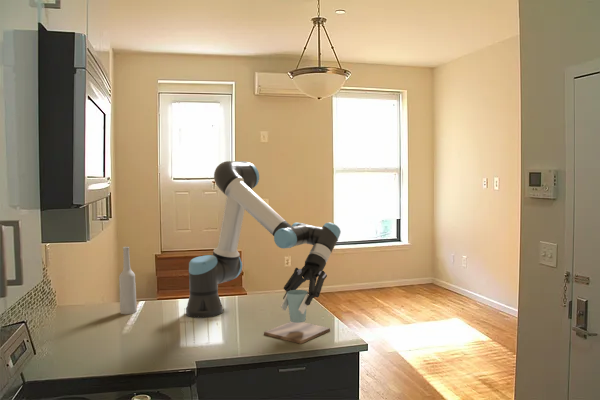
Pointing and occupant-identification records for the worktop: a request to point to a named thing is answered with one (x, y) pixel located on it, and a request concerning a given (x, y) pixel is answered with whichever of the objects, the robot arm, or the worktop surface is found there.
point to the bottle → (127, 286)
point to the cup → (296, 305)
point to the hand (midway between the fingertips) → (291, 310)
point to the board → (297, 331)
